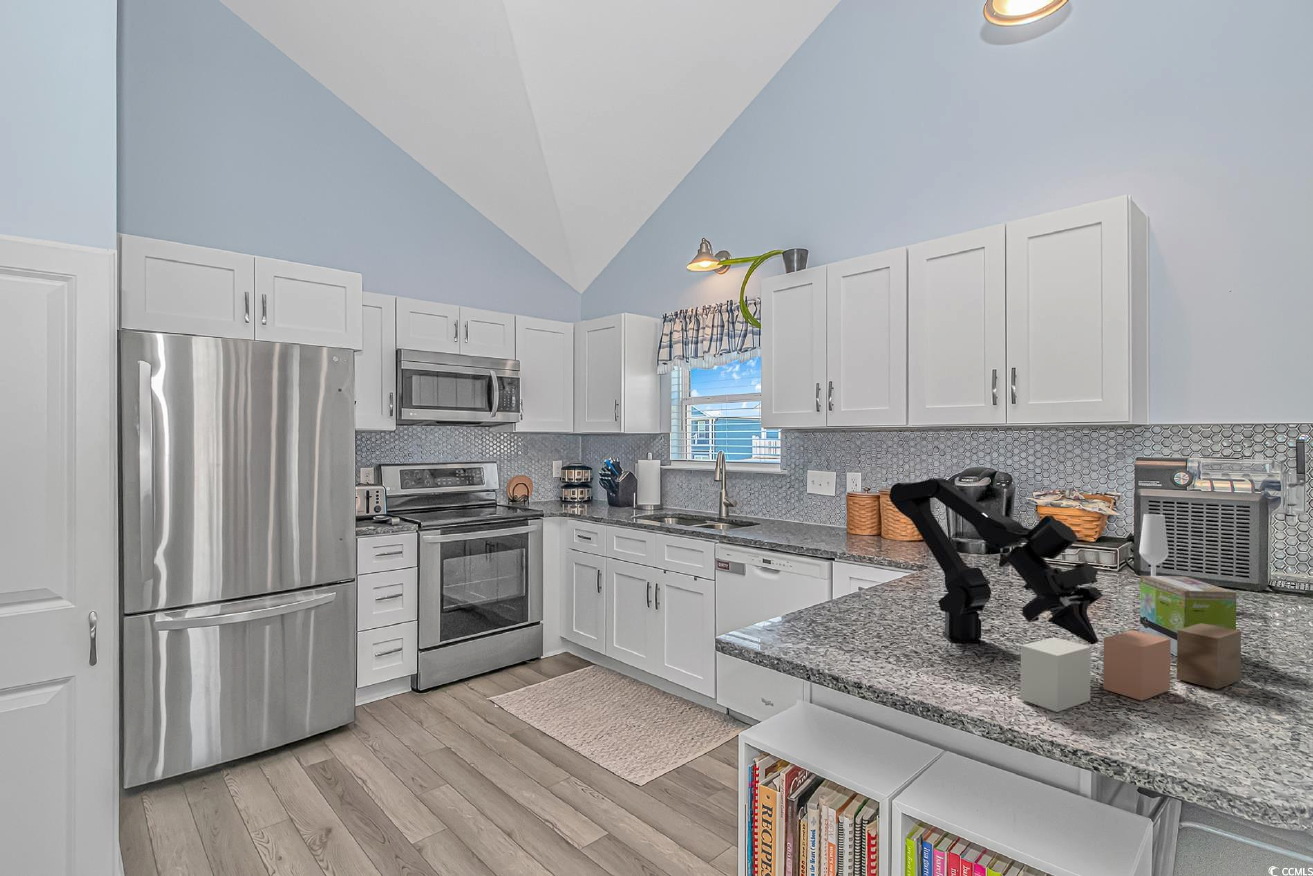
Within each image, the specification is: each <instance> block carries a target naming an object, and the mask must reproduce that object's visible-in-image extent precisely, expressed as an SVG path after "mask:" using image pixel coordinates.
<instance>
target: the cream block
mask: <svg viewBox="0 0 1313 876" xmlns="http://www.w3.org/2000/svg"><path fill="white" fill-rule="evenodd" d="M1091 655H1092V646H1089V645H1085V644H1081V643H1077V642H1074V641H1070V640H1065V639H1063V638H1062V639H1061V638H1059V637H1051V638H1046V639H1043V640H1038V641H1034V642H1031V643H1030V642H1029V643H1026V644H1021V645H1020V684H1019V685H1020V686H1019V687H1020V690H1019V691H1020V692H1019V693H1020V694H1019V695H1020V696H1019V697H1020V699H1019V700H1022V701H1025V702H1027V703H1030V704H1034V705H1036V706H1039V707H1042V708H1044V709H1047V710H1050V711H1053V712H1057V713H1058V712H1061V711H1064V710H1067V709H1070V708H1073V707H1075V706H1079V705H1081V704H1084V703H1088V702H1089V701H1091V674H1092V672H1091V662H1092V660H1091V657H1092V656H1091Z"/></svg>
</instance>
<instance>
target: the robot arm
mask: <svg viewBox="0 0 1313 876" xmlns="http://www.w3.org/2000/svg"><path fill="white" fill-rule="evenodd" d="M888 497H889V500H890V503H892V505H893V506H894V507H895V508H896V510H897V511H898V512H899V513H901V514H902V515H904V516H905V517H907V519H909V520H910V521H911V522H912V524H913V525H914V527H915V529H916V530H917V531H918V533H919V534H920V536H921V538H922V539H923V541H924V542H925V544H926V546H927V547H928V549H929V551H930V553H931V554H932V556H933V557H934V559H935V560H936V562H937V564H938V565H939V567H940V569H941V570H942V572H943V574H944V585H945V586H944V587H945V589H946V591H947V593H946V594H945V595H944V596H942V598H940V599H939V600H938V606H939V608H940V611H942V612H943V613H944V631H942V633H941V634H942V635H943V636H944V637H945V638H946V639H947V640H948V641H950V642H951V643H952V642H953V643H968V644H982V640H981V638H982V619H980V613H979V612H983V611H984V609H985V607H986V605H987V604H988V603H989V601H990V599H991V596H992V595H991V594H992V589H991V587H990V585H989V584H991V582H990V581H989V580H988V579H987V578H986V576H985V575H984V573H983V571H982V569H981V568H980V567H979V566H976V567H975V566H974V567H970V566H969V565H967V564H966V562H965V561H964V560H963V558H962V557H961V556H960V554H959V552H958V551H957V549H956V548H955V546H954V545H953V543H952V541H951V540H950V539H949V537H948V535H947V534H946V532H945V531H944V529H943V528H942V526H941V524H940V523H939V521H938V520H937V518H936V517H935V515H934V513H933V512H932V509H931V508H932V507H931V500H932V499H934V498H935V499H936V500H938V501H939V502H940V503H941V504H943V505H944V506H946V507H947V508H948V509H950V510H951V511H953V512H954V513H955V514H957V515H958V516H960V517H961V518H962V519H964V520H965V521H966V522H968V523H969V524H970V525H971V526H972V527H973V528H974V529H975V531H976V533H977V535H978V537H980V538H981V539H982V540H983V541H984V543H986V545H988V546H989V547H990V548H992V549H995V550H997V549H998V550H1000V549H1009V548H1012V549H1011V550H1010V551H1009V552H1005V553H1000V554H999V558H1000V559H999V563H998V567H999V568H1006V567H1012V568H1013V569H1014V570H1015V571H1016V573H1017V574H1018V576H1019V577H1020V578H1021V579H1022V580H1023V581H1024V583H1025V584H1024V585H1023V588H1024V590H1026V591H1027V592H1028V591H1032V592H1033V594H1034V595H1035V596H1036V597H1034V598H1033V599H1032V600H1030V601H1029V602H1028V603H1027V604H1025V605H1024V606H1023V607H1022V608H1021V610H1022V611H1021V615H1022V616H1023V617H1024V619H1025V620H1026V621H1027V623H1029V624H1031V623H1035V622H1038V621H1040V619H1039V616H1041V615H1042V614H1044V613H1045V612H1050V613H1049V614H1050V615H1051V617H1050V618H1048V619H1047V622H1048V623H1050V624H1051V623H1052V624H1053V625H1054V626H1057V627H1059V628H1061V629H1063V630H1065V631H1067V632H1069V633H1071V634H1073V635H1075V636H1076V637H1077V638H1080V639H1081V640H1083V641H1085V642H1087V643H1088V644H1090V645H1092V646H1093V645H1096V644H1097V643H1098V642H1099V639H1098V637H1097V634H1096V631H1095V630H1094V628H1093V625H1092V624H1091V621H1090V618H1089V615H1088V612H1087V611H1088V607H1090V606H1091V605H1093V604H1094V603H1096V602H1097V601H1098V600H1099V599H1101V598H1102V597H1103V596H1104V594H1103V593H1102V592H1101V591H1100V590H1099V588H1097V587H1096V586H1092V585H1089V584H1095V583H1098V582H1099V581H1098V579H1097V575H1098V570H1097V569H1095V567H1094V566H1093V565H1090V563H1088V562H1087V561H1084V562H1081V563H1077V564H1074V568H1071V569H1068V570H1065V571H1063V570H1062V569H1061V568H1058V567H1054V568H1053V567H1052V566H1051V565H1050V564H1049V563H1048V561H1047V560H1046V559H1050V560H1055V559H1056V558H1058V557H1060V555H1061V554H1063V553H1064V552H1065V551H1066V550H1068V549H1069V548H1070V547H1071V546H1073V545H1074V544H1076V542H1078V536H1077V534H1076V532H1075V531H1074V530H1073V529H1072V527H1071V526H1068V525H1067V524H1065V523H1064V522H1062V521H1060V520H1058V519H1056V518H1055V517H1054V516H1053V515H1044V517H1042V518H1041V519H1040V521H1039V522H1038V523H1037V524H1036V525H1034V527H1033V528H1028V527H1024V526H1023V524H1021V523H1020V522H1019V521H1017V520H1015V519H1013V518H1011V517H1008V516H1007V515H1004V514H1001V513H998V512H994V511H992V510H989V509H988V508H987V507H986V506H984V505H982V504H981V503H980V502H978V501H976V500H974V499H973V498H972V497H971V496H969V495H968V494H966V493H964V492H963V491H962V490H960V489H959V488H958V487H956V486H954V485H953V484H952V483H951V482H950V481H949V480H947V478H944V477H935V478H934V477H931V478H929V479H926V480H921V481H915V482H913V481H912V482H896V483H893V485H892V486H891V488H890V490H889V495H888ZM1024 542H1025V543H1024ZM1023 543H1024V544H1023ZM1022 544H1023V545H1022ZM1020 545H1022V546H1020ZM1086 584H1088V585H1086ZM1083 585H1086V586H1083ZM1078 586H1079V587H1078ZM1080 586H1081V587H1080Z"/></svg>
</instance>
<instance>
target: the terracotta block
mask: <svg viewBox="0 0 1313 876" xmlns="http://www.w3.org/2000/svg"><path fill="white" fill-rule="evenodd" d="M1170 648H1171V639H1168V638H1164V637H1159V636H1155V635H1151V634H1146V633H1142V632H1140V631H1137V630H1134V629H1133V630H1131V629H1130V630H1129V631H1125V632H1121V633H1116V634H1111V635H1108V636H1105V637H1103V670H1102V671H1103V675H1102V679H1103V681H1102V683H1103V684H1102V685H1103V687H1102V689H1103V690H1106V691H1109V692H1113V693H1115V694H1119V695H1123V696H1126V697H1129V698H1132V699H1135V700H1138V701H1145V700H1147V699H1150V698H1153V697H1155V696H1158V695H1160V694H1161V695H1162V694H1164V693H1166V692H1169V691H1171V654H1170Z"/></svg>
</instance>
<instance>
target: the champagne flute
mask: <svg viewBox="0 0 1313 876" xmlns="http://www.w3.org/2000/svg"><path fill="white" fill-rule="evenodd" d="M1165 517H1166V515H1164V514H1157V513H1144V514H1143V518H1142V527H1141V534H1140V535H1141V536H1140V541H1139V550H1138V554H1139V555H1140V556H1141V558H1142V559H1143V560H1144V561H1145V562H1146V563H1147V564H1149V565H1150V576H1157V565H1160V564H1162V562H1164V561H1165V560H1166V559H1167V558H1168V557H1169V554H1170V553H1169V547H1168V546H1169V545H1168V535H1167V526H1166V518H1165Z"/></svg>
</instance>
